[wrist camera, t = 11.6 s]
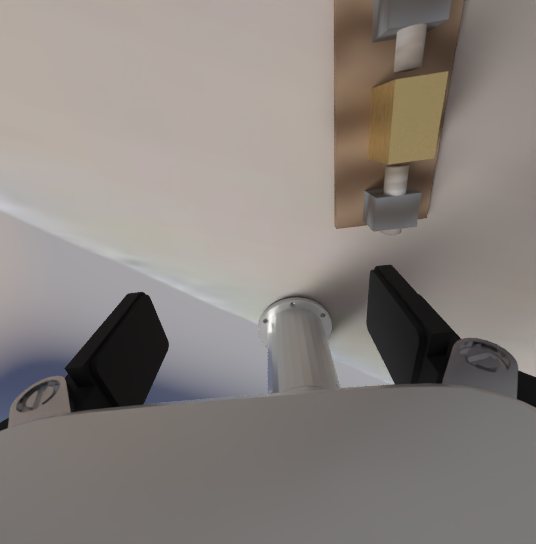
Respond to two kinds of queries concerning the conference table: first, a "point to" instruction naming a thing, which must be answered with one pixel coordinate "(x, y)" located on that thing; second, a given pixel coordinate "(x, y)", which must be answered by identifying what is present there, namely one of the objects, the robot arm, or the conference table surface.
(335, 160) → the shaft stand
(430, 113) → the block
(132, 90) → the conference table surface
